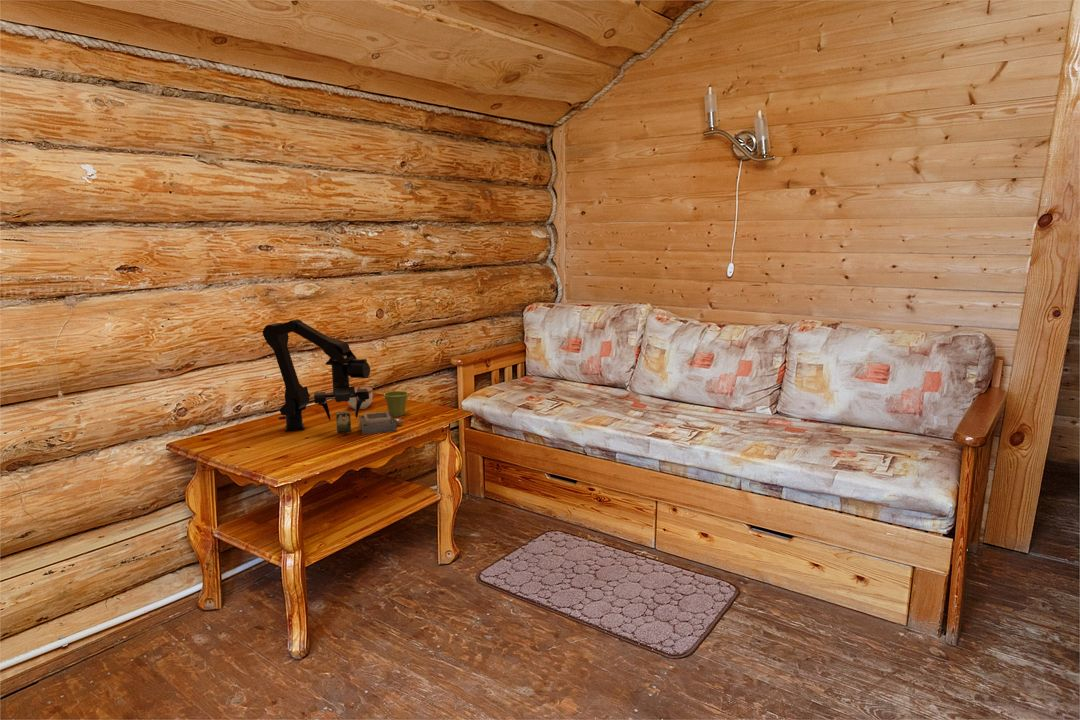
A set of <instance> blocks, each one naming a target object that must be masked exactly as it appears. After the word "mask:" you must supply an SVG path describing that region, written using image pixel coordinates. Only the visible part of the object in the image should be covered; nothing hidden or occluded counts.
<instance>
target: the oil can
mask: <svg viewBox="0 0 1080 720" xmlns="http://www.w3.org/2000/svg"><path fill="white" fill-rule="evenodd" d="M335 422H336V433H337V434H339V435H341V434H343V435H344V434H349V433H351V432H352V418H351V411H347V410H339V411H337V412H335Z"/></svg>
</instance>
